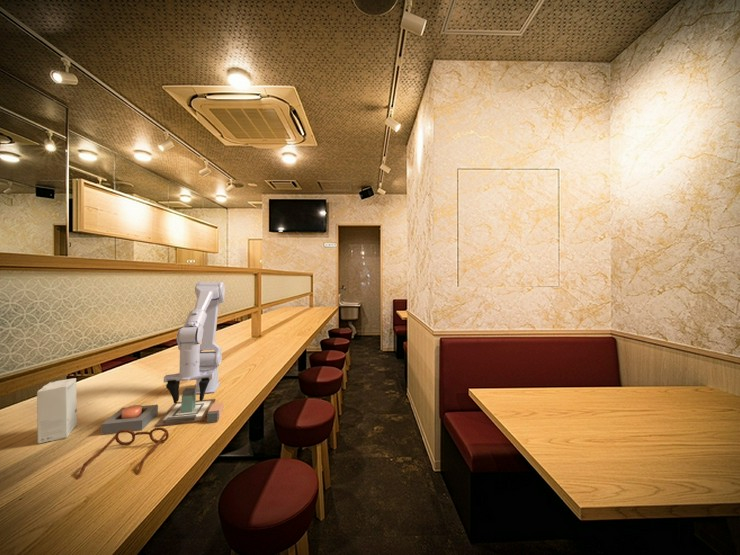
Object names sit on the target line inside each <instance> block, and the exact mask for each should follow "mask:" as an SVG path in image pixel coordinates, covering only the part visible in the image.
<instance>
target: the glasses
mask: <svg viewBox="0 0 740 555" xmlns="http://www.w3.org/2000/svg"><path fill="white" fill-rule="evenodd" d="M156 431H162V432H164V433H163V435H162V436H161V437H160V438H159V439H155V438H154V436H153V433H154V432H156ZM122 433H128V434H130V435H131V438H132V439H131V441H126V442H125V441H122V440H121V439H120V438H119V435H120V434H122ZM139 435H140V436H141V435H149V439H150V440H151V441H152V442H153V443H156V444H155V445H154V446H153V448H152V449H151V450H150V451H149V452H148V453H146V455H145V456H143V458H142V459H141V460H140V464H139V467H138V469H137V472H136V475H140V473H141V472H142V469H143V466H144V464H145V461H146V460H147V459H148V457H149V456H150V455H152V454H154V452H155V450H157V448H158V447H159V446H160V444H161V443H165V442H166V441H168V438H169V436H170V435H169V430H167V429H166V428H164V427H155V428H152V429H151V430H150V431H136V432H135V431H131V430H127V429H124V430H120V431H118V432H117V433H115V435H114V436H113V437H112V438H111V439H110V440H109V441H108V442H107V443H106V444H105V445H104V446H103V447H102V448H101V450H99V451H98V452H97V454H95V455H92V456H91V457H90V458H89V459H87V460H86V461H85V462H84V463H83V465H82V467H81V468H80V471H79V473H78V475H77V477H76V480H79V479H81V478H82V476H83V474H84V472H85V470H86V468H87V466H88V464H90V462H92V461H93V460H94V459H96V458H97V457H99V456H100V455H101V454H102V453H103V452H104V451H105V450H106V449H107V448H108V447H109V446H110V445H111V444H112V443H113V442H114V441H115V442H117V444H119V445H121V446H122V445H123V446H124V445H126V446H127V445H131V444H132V443H134V441H136V440H135V439H136V436H139Z"/></svg>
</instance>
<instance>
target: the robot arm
mask: <svg viewBox="0 0 740 555" xmlns="http://www.w3.org/2000/svg"><path fill="white" fill-rule="evenodd" d="M194 294H195V296H196V303H195V306H194V309H192V310H190V311H189V313H188V315H187V318H186V320H185V323H184V325H183V326H182V328H179V329H178V331H177V333H176V343H177V349H178V350H179V372H178V373H177V372H176V373H173V374H172V373H170V374H165V375H164V376H163V384H164V383H166V385H165V388H166V389H167V390H168V391H169V393H170V396H171V397H172V400H173V404H175V403H177V402H180V401H179V398H180V383H181V381H182V382H185V381H186V382H188V381H195V380H196V381H195V384H196V385H195V392H196V395H198V394H199V398H198V400H200V401H202V400H205V399H204V398H205V394H210V393H215V392H216V391H217V390H218V388H219V387H220V385H221V381H219V368H218V367H220V365H221V363H222V359H223V354H222V347H221V346H220V345H219V344H217V343H216V337H217V336H216V335H217V334H216V333H217V325H218V314H219V307H220V304H222V303H224V302H225V301H224V300H225V295H226V285H225V283H224V282H223V281H220V282H219V281H218V282H217V281H215V282H213V281H197V282H196V284H195V286H194Z"/></svg>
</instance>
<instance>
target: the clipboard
mask: <svg viewBox="0 0 740 555" xmlns="http://www.w3.org/2000/svg"><path fill="white" fill-rule="evenodd" d="M213 403H216V398H210V399H203V400H202V401H200V399H198V400H197V399H196V407H195V409H194V410H193V411H192V412H186V413H181V404H182V401H178V402H177V403H173V405H172V406H171V407H170V408H169V409H168V410H167V412H165V413H164V415H163V416H162V417H161V418H160V419H159V420H158V422H157V423H156V424H155V428H160V427H166V426H167V427H168V426H177V425H186V424H194V423H195V424H196V423H203V422H204V421H205V419H206V418H207V414H208V411H209V409H210V408H211V406H212V404H213Z"/></svg>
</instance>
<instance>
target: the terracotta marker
mask: <svg viewBox="0 0 740 555" xmlns="http://www.w3.org/2000/svg"><path fill="white" fill-rule="evenodd" d="M223 412H224V402H214V403H213V404H212V406H211V408H210V409H209V411H208V414H207V416H206V419H207V420H206V423H207V424H211V423H218V422H219V421H220V419H221V416H222V414H223Z"/></svg>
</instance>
